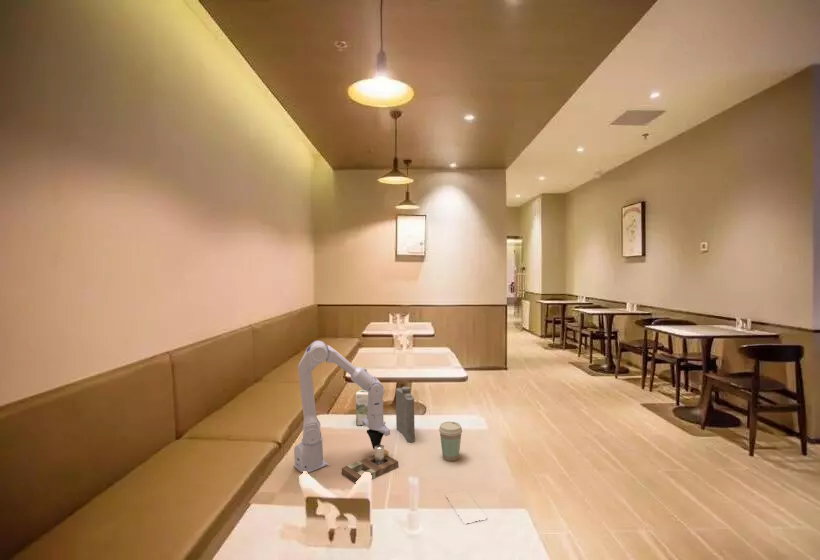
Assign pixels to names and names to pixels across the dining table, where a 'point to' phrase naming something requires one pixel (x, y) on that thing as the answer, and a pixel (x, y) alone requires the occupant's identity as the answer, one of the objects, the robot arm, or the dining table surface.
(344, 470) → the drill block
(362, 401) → the syrup box
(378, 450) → the frosted round dowel plug
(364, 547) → the dining table surface
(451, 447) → the coffee cup
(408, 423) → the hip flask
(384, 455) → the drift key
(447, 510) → the dining table surface
